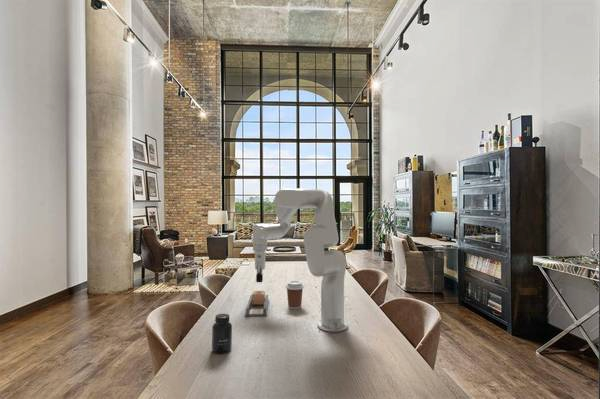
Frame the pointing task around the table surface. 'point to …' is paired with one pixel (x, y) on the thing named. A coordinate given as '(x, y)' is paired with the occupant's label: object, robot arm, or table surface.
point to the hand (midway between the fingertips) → (259, 281)
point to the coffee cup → (294, 294)
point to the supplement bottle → (221, 334)
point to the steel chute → (257, 308)
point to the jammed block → (258, 297)
